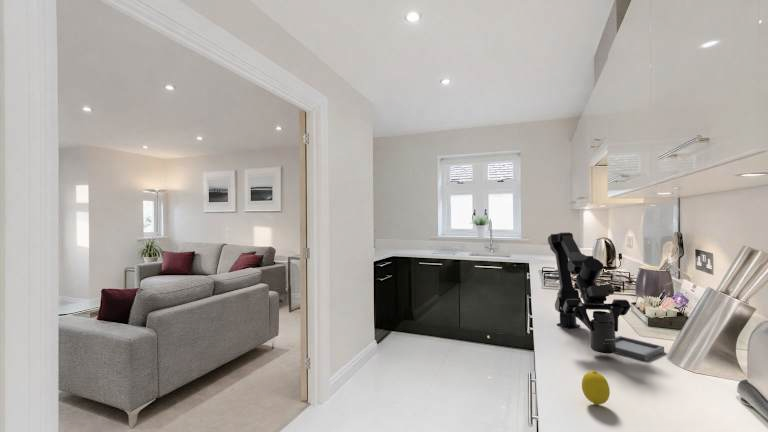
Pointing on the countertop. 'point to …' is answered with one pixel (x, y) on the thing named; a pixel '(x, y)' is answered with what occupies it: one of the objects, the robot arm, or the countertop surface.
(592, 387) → the lemon
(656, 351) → the base plate
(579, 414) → the countertop surface
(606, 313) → the supplement bottle
